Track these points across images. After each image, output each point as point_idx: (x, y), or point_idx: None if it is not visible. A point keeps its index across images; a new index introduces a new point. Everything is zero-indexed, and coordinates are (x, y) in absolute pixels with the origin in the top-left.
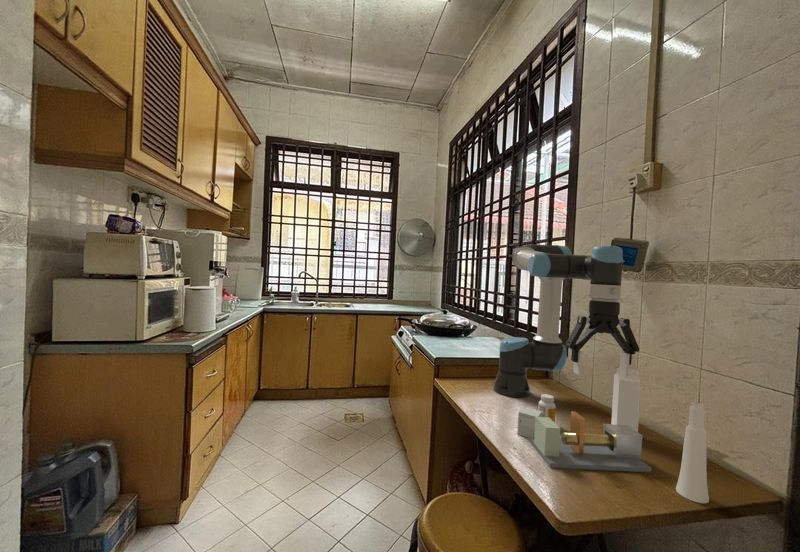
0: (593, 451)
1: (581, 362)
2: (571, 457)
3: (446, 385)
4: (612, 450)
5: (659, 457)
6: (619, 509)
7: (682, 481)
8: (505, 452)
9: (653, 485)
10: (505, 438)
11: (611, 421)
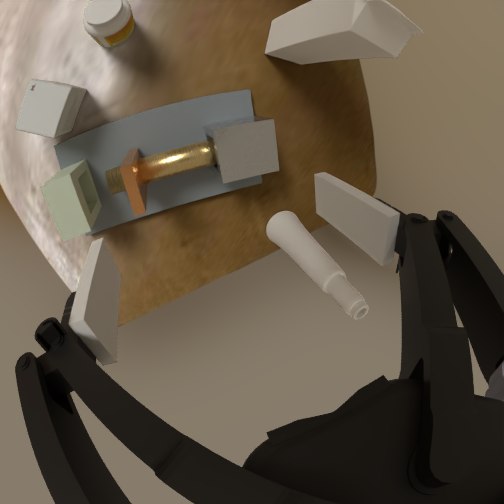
0: None
1: (116, 315)
2: (124, 199)
3: None
4: None
5: (305, 121)
6: (168, 292)
7: (276, 240)
8: (23, 214)
9: (241, 220)
10: (17, 156)
11: (280, 16)
